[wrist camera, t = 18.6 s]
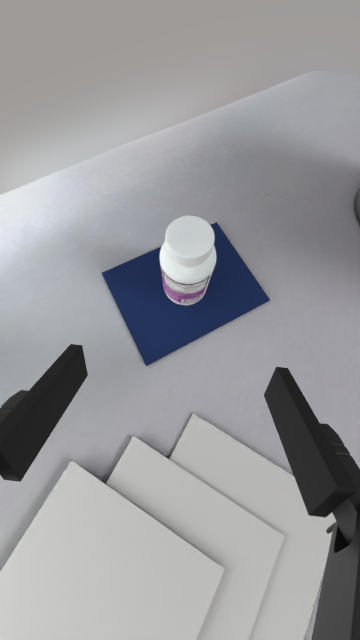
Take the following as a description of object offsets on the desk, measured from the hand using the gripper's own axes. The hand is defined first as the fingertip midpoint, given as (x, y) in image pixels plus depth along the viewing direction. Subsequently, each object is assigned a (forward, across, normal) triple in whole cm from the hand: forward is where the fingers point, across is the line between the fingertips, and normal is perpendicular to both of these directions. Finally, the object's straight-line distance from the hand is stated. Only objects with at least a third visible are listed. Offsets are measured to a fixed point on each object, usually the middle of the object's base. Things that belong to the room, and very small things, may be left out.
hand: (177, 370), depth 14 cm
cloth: (+14, 0, +1) cm, 14 cm away
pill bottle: (+14, 0, +1) cm, 14 cm away
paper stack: (-5, +1, -18) cm, 19 cm away
